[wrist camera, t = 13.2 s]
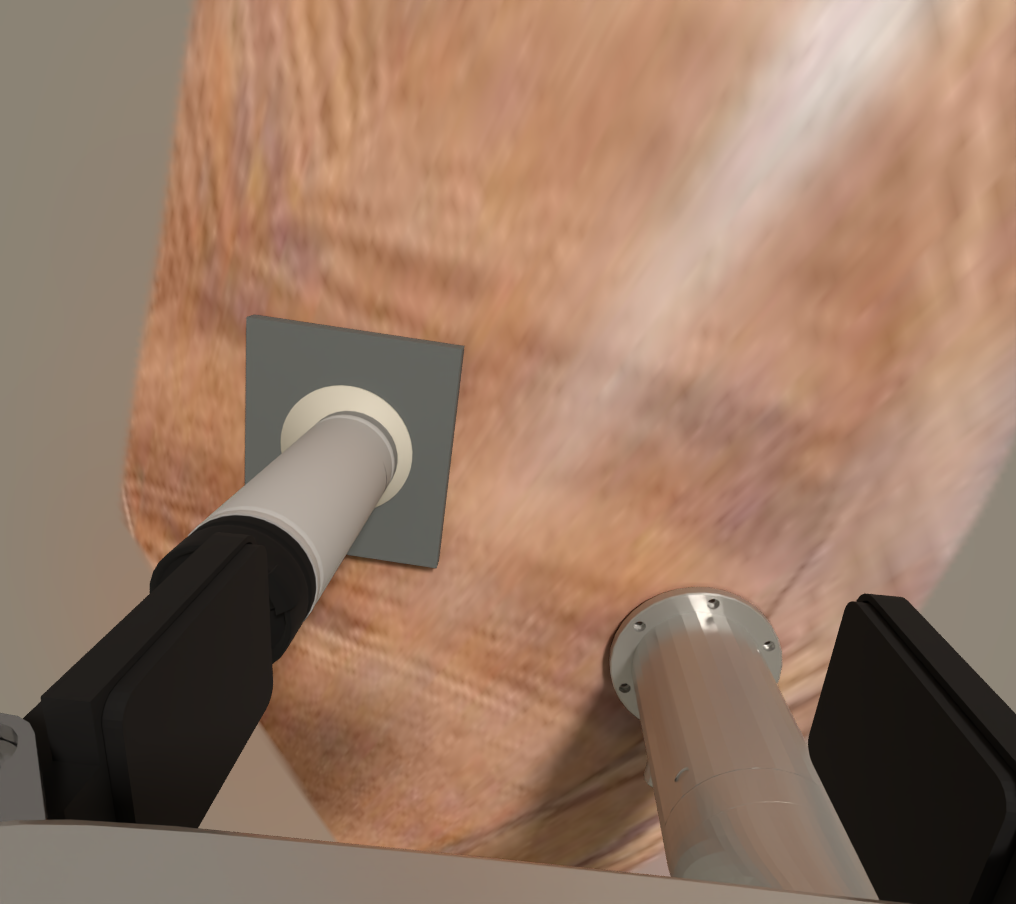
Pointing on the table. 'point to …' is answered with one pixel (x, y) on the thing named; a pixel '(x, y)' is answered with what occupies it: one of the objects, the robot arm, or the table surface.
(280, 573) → the travel mug
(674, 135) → the table surface
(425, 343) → the mat
